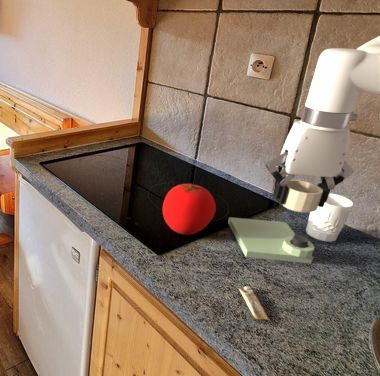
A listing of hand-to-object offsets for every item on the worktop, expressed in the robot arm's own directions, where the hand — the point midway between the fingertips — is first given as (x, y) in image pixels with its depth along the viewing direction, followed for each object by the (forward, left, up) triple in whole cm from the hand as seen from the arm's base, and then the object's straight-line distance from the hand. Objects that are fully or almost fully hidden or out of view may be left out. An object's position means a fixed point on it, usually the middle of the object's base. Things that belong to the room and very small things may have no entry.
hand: (298, 202), depth 83 cm
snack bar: (+10, +15, -16) cm, 24 cm away
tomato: (+18, -12, -16) cm, 27 cm away
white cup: (-16, -16, -16) cm, 27 cm away
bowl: (0, 0, -1) cm, 1 cm away
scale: (-1, -10, -16) cm, 18 cm away
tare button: (-5, -4, -13) cm, 14 cm away
